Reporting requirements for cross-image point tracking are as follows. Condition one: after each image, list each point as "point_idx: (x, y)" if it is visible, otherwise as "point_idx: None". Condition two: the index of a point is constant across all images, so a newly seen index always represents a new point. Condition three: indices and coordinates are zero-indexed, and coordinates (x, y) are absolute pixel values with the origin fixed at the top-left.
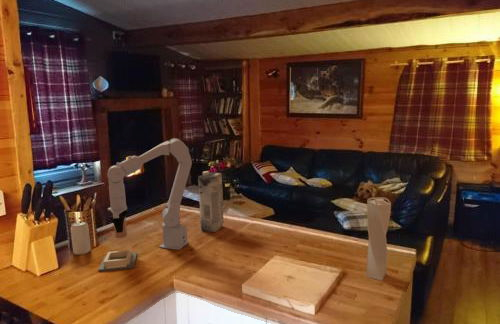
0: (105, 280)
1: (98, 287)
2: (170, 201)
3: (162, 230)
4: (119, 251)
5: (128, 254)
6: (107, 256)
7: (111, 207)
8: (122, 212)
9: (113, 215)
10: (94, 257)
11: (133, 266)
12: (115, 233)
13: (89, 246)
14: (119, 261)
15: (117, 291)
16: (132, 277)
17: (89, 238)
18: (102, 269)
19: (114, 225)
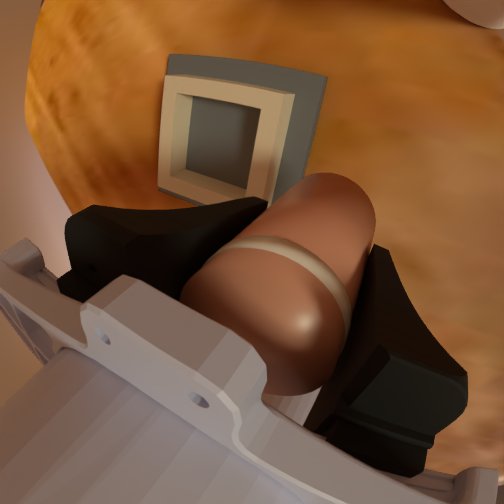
0: (115, 90)
1: (90, 76)
2: None
3: (289, 402)
4: (259, 159)
5: (203, 194)
6: (217, 90)
7: (39, 379)
8: (312, 420)
9: (1, 259)
10: (357, 24)
11: (161, 189)
12: (303, 184)
13: (468, 10)
14: (162, 145)
15: (70, 129)
16: (114, 172)
17: (498, 6)
18: (168, 70)
19: (191, 209)
